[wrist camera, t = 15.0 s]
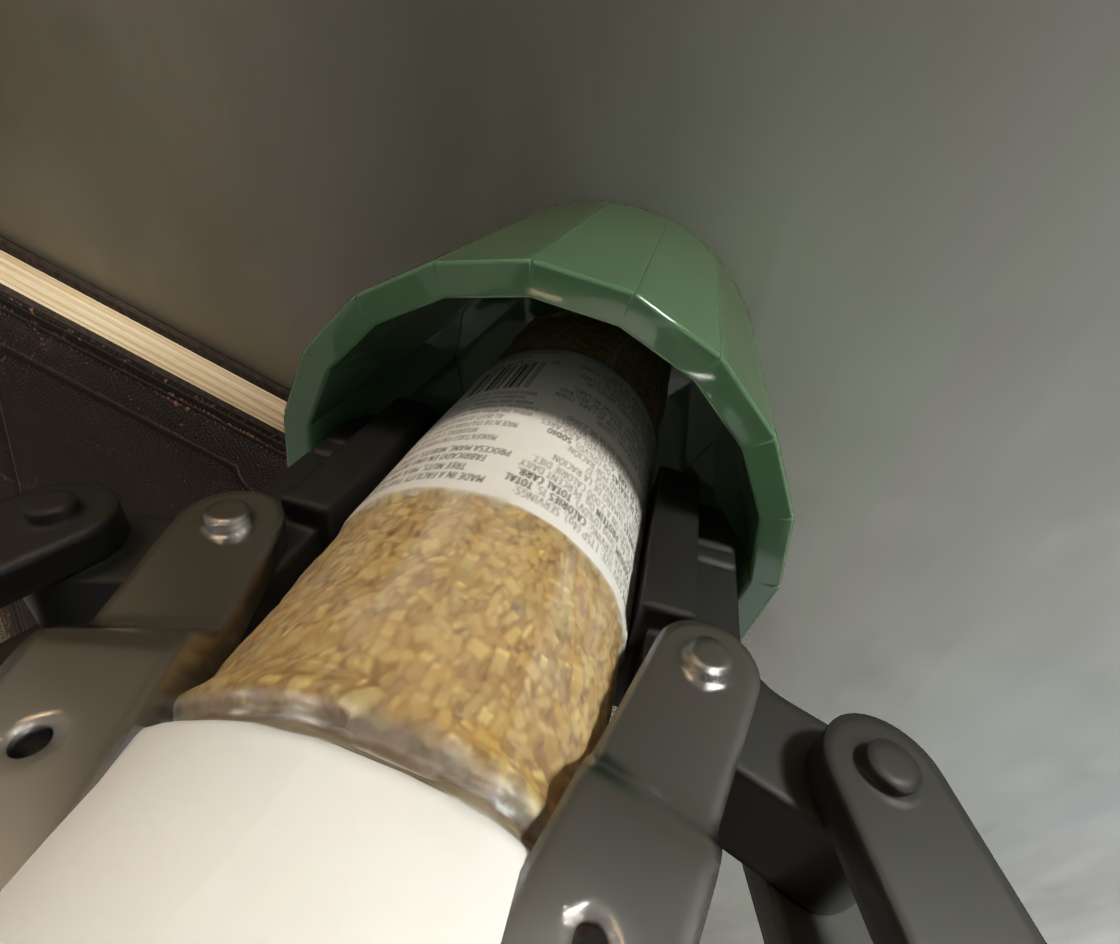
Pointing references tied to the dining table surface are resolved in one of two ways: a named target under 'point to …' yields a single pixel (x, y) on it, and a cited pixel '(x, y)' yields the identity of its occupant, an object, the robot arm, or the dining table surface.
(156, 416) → the hardcover book
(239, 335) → the dining table surface
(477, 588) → the sprinkles bottle
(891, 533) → the dining table surface
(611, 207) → the cup
